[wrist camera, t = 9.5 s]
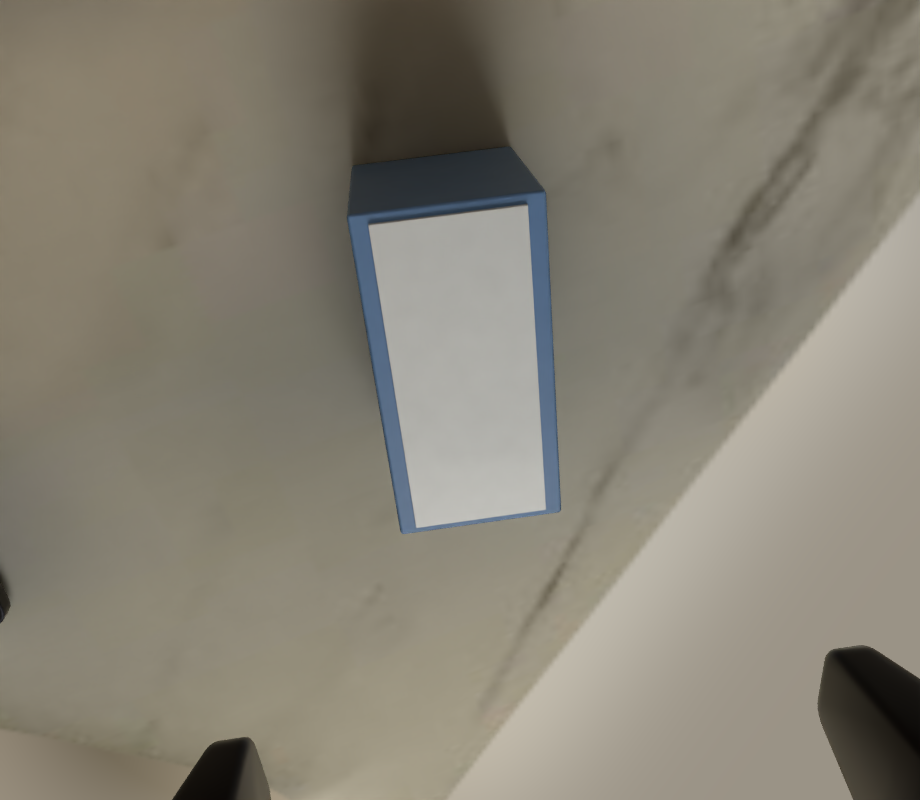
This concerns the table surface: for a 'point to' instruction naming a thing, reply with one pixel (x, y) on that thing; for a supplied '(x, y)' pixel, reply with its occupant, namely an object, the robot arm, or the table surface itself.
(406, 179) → the foil box
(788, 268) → the table surface
